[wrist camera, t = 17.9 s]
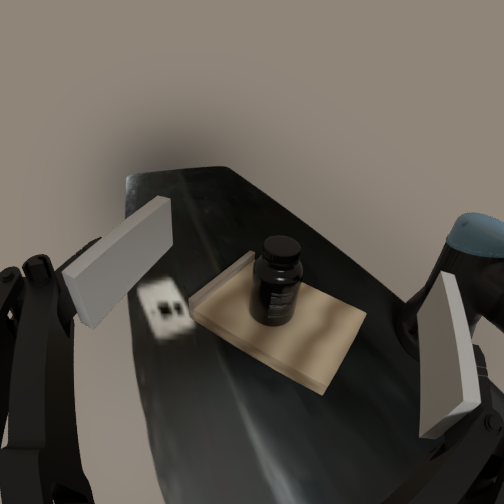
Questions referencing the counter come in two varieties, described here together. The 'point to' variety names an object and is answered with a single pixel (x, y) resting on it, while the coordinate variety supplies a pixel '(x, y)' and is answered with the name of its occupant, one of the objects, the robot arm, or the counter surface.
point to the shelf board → (282, 337)
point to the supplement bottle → (276, 281)
